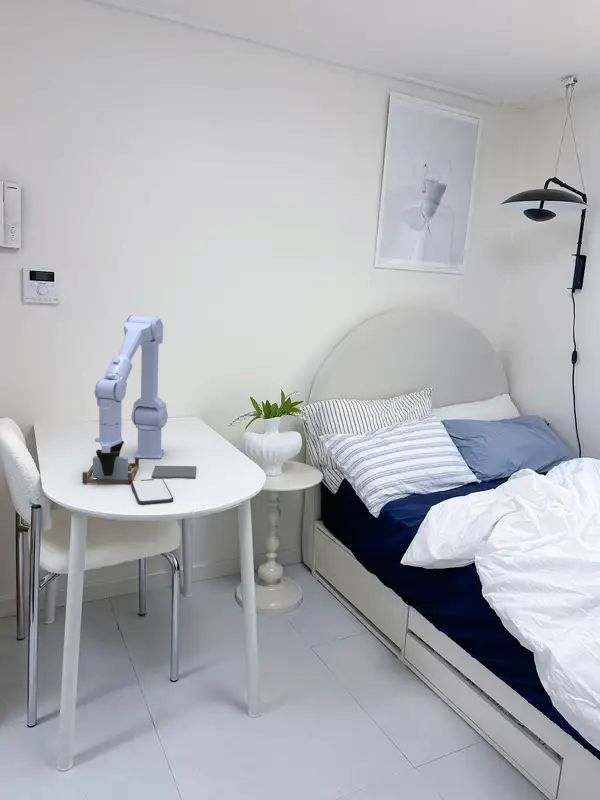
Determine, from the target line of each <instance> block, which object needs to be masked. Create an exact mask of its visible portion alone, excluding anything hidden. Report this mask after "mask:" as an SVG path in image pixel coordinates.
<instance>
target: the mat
mask: <svg viewBox="0 0 600 800" xmlns="http://www.w3.org/2000/svg"><path fill="white" fill-rule="evenodd" d="M196 477H197V465H154V468H153V471H152V474H151V479H172V478H185V480H186V478H187V480H188V479H193V480H194V479H196Z"/></svg>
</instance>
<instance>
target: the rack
mask: <svg viewBox="0 0 600 800" xmlns="http://www.w3.org/2000/svg"><path fill="white" fill-rule="evenodd" d="M139 462H140V458H139V457H135V456H134V462H129V463H130V466H132V470H131V472H130V471H128V478H127V479H93V478H91V477H90V476H93V474H92V473H93V464H92V465H91V466H90V467H89V469H88V471H83V472H82V473H81V474H82V475H81V476H82V483H97V484H96V485H131V482H132V481H134V479H135V477H136V475H137V472H138V470H139V469H140V468H139V467H140V463H139Z"/></svg>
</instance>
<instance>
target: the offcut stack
mask: <svg viewBox="0 0 600 800" xmlns="http://www.w3.org/2000/svg"><path fill="white" fill-rule="evenodd" d="M130 463H131V462H128V472H132V470H133V468H132V466H130Z"/></svg>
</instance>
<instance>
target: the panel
mask: <svg viewBox="0 0 600 800" xmlns="http://www.w3.org/2000/svg"><path fill="white" fill-rule="evenodd" d="M128 463H129V456H119V457H118V456H116V459H115V463H114V470H113V474H112V476H104V474H103V470H102V466H101V462H100V460H99V458H98V456H97V455H94V456H93V457H92V465H93V474H92V479H93V478H97V479H128V472H129V471H128Z"/></svg>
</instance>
